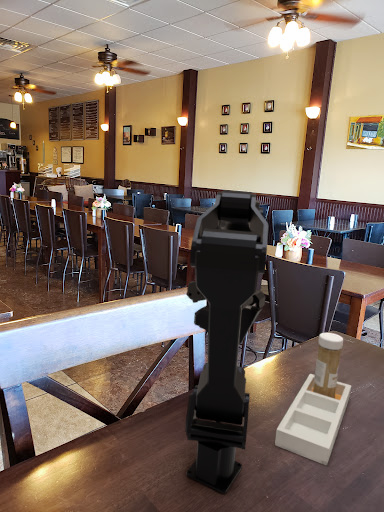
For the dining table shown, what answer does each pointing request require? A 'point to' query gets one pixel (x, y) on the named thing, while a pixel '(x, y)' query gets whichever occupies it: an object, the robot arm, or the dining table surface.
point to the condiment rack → (313, 422)
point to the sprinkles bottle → (327, 364)
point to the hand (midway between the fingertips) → (229, 350)
